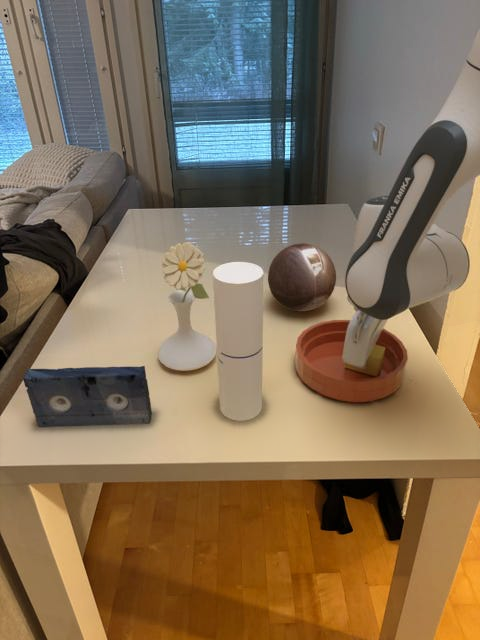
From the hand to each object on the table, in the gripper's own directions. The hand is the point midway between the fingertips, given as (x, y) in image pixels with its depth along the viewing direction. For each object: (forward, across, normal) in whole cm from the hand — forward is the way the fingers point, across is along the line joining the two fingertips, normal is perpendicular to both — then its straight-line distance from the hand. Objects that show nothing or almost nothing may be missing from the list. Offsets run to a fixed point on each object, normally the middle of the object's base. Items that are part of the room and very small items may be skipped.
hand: (364, 358), depth 85 cm
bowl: (+3, -1, +3) cm, 4 cm away
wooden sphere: (+3, +17, +20) cm, 26 cm away
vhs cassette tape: (+3, -33, +35) cm, 48 cm away
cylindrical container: (+3, -19, +16) cm, 25 cm away
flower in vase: (+3, -12, +31) cm, 33 cm away
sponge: (+2, 0, 0) cm, 2 cm away
